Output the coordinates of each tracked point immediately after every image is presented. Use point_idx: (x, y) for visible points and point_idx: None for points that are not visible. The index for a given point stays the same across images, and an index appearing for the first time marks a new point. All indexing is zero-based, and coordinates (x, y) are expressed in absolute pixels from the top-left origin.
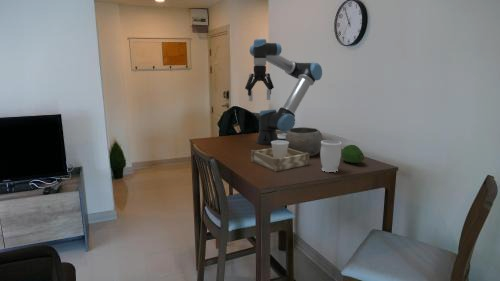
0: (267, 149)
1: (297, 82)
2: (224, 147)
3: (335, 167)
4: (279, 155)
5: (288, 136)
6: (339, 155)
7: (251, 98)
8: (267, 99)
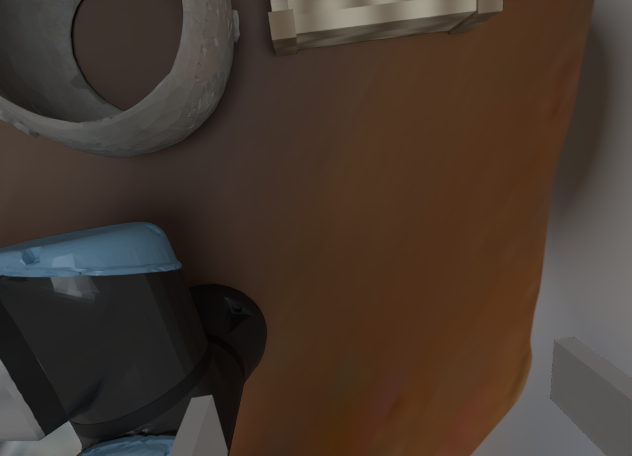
0: (398, 3)
1: None
2: (436, 322)
3: None
4: None
5: (219, 20)
6: None
7: (618, 368)
8: (221, 440)
